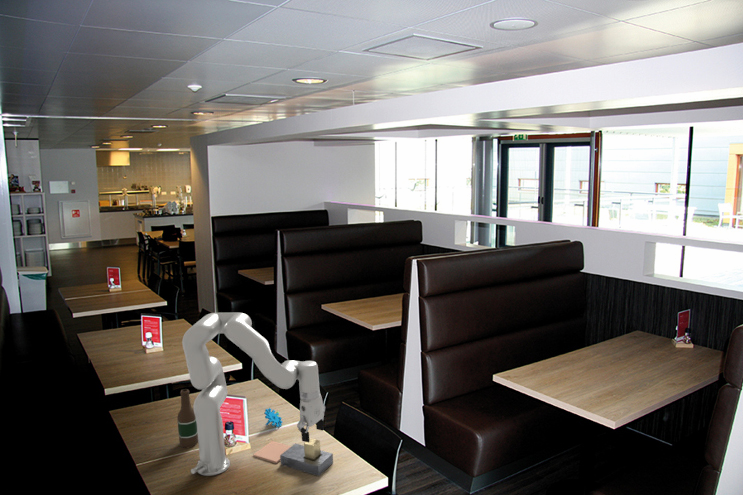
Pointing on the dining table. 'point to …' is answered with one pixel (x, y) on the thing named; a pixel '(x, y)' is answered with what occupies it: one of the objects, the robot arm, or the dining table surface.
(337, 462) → the dining table surface
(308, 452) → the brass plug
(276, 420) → the gear
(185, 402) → the beer bottle
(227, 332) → the robot arm
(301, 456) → the grey block with hole
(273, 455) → the terracotta tile
